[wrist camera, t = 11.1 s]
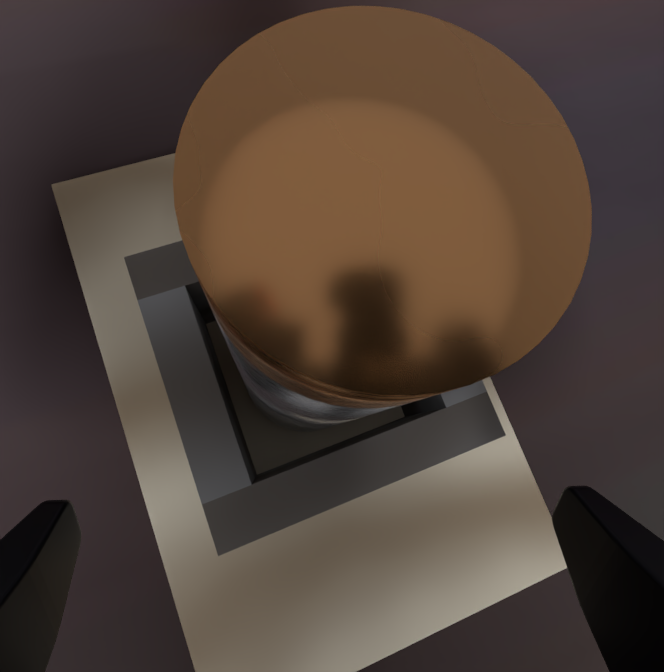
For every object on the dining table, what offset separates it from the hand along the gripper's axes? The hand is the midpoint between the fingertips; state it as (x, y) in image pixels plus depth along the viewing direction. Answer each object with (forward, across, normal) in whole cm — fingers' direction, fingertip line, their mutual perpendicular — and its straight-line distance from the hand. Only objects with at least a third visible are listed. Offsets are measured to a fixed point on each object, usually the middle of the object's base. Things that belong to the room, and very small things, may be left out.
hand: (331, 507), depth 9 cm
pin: (+7, 0, +2) cm, 8 cm away
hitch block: (+8, 0, +3) cm, 9 cm away
